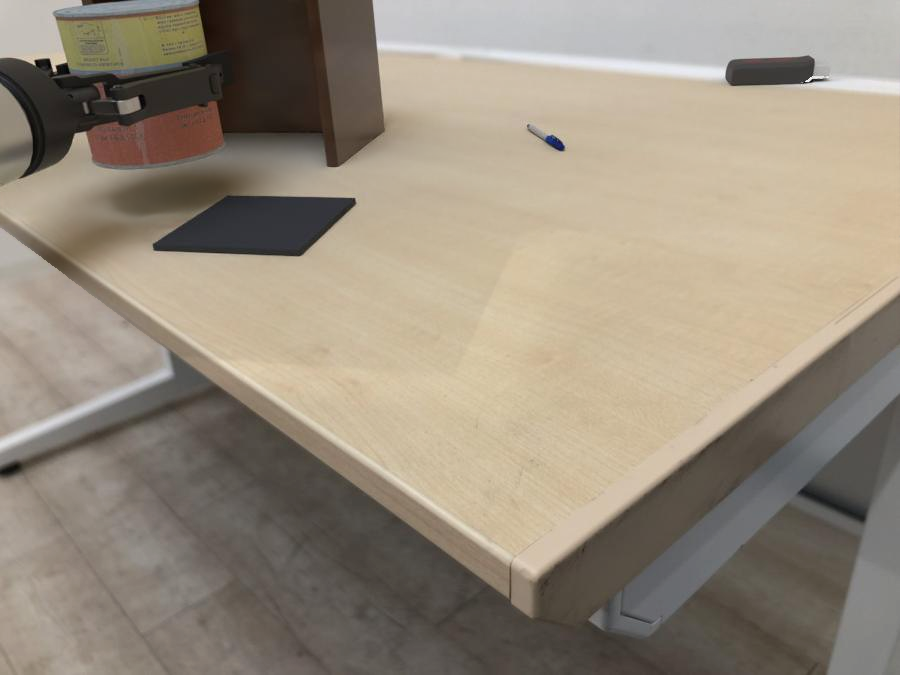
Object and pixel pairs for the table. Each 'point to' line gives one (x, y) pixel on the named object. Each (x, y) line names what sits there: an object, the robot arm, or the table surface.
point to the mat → (257, 225)
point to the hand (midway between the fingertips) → (168, 67)
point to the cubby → (298, 68)
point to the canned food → (133, 52)
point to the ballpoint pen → (547, 137)
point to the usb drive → (775, 70)
